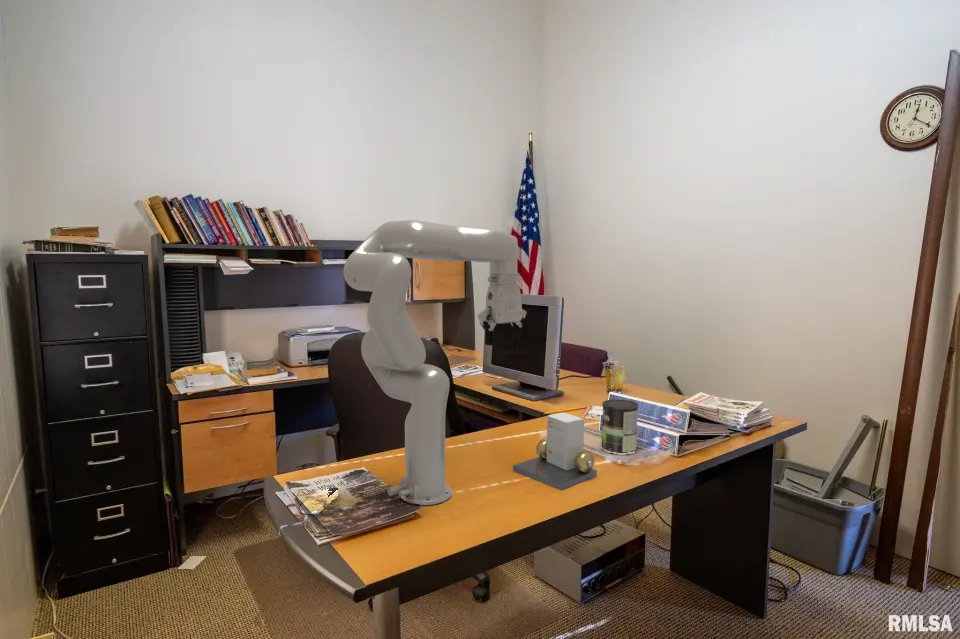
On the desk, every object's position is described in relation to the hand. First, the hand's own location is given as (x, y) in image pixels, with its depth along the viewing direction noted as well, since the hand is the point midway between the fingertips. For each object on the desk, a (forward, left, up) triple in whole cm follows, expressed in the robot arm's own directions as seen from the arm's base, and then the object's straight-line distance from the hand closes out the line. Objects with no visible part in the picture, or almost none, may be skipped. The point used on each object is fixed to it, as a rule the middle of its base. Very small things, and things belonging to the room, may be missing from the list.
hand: (502, 343), depth 156 cm
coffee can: (+33, -16, -34) cm, 50 cm away
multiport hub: (-51, +7, -34) cm, 62 cm away
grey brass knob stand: (+4, -16, -33) cm, 37 cm away
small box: (+8, -16, -32) cm, 37 cm away
